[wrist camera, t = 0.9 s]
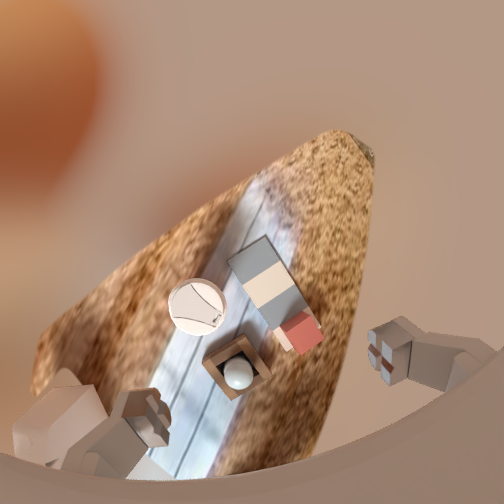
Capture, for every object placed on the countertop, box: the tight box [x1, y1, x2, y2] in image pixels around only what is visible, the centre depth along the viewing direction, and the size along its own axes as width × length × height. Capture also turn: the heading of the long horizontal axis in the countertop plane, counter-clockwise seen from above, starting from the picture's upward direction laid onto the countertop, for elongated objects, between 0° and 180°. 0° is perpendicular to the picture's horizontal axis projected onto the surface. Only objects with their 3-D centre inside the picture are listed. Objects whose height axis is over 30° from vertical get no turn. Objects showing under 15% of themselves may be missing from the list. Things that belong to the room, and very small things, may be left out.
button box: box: [202, 333, 273, 400], centre depth 46 cm, size 9×9×3 cm
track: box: [227, 237, 321, 352], centre depth 49 cm, size 20×8×1 cm, turn 33°
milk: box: [12, 384, 109, 470], centre depth 30 cm, size 12×12×26 cm
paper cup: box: [168, 278, 227, 336], centre depth 41 cm, size 8×8×14 cm
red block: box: [279, 311, 325, 355], centre depth 46 cm, size 5×5×5 cm
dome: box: [224, 355, 253, 390], centre depth 43 cm, size 5×5×6 cm
